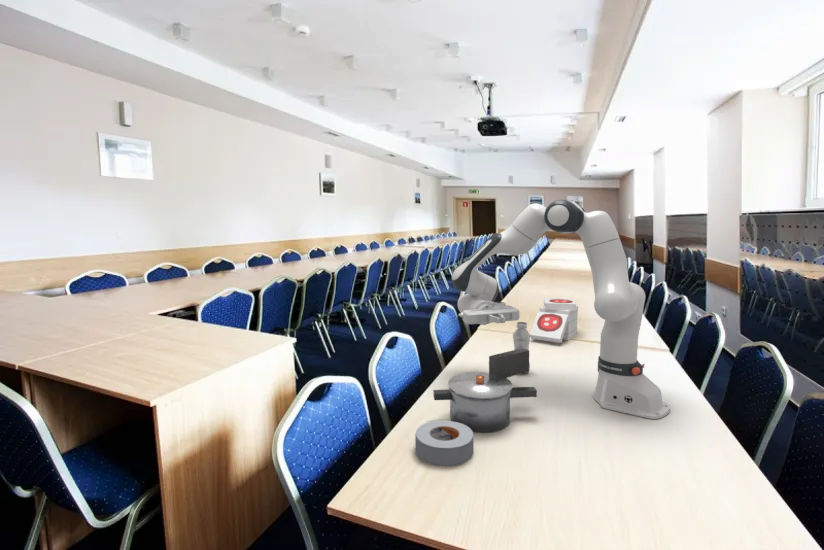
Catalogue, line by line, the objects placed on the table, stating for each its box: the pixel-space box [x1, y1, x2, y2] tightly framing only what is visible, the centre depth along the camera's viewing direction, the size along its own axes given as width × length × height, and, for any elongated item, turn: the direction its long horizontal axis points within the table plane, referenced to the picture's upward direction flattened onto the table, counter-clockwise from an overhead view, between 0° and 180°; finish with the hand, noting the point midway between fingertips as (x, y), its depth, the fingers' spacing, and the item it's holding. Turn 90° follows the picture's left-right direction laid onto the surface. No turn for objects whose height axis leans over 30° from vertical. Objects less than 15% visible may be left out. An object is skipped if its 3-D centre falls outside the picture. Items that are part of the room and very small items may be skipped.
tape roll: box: [414, 419, 474, 467], centre depth 115 cm, size 15×15×5 cm
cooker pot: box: [432, 386, 538, 434], centre depth 132 cm, size 31×18×10 cm, turn 92°
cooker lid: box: [448, 348, 530, 400], centre depth 134 cm, size 29×19×8 cm, turn 122°
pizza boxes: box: [529, 297, 579, 344], centre depth 219 cm, size 19×30×18 cm, turn 144°
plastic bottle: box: [512, 321, 531, 374], centre depth 170 cm, size 6×7×20 cm
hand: (501, 320), depth 145 cm, fingers closed
